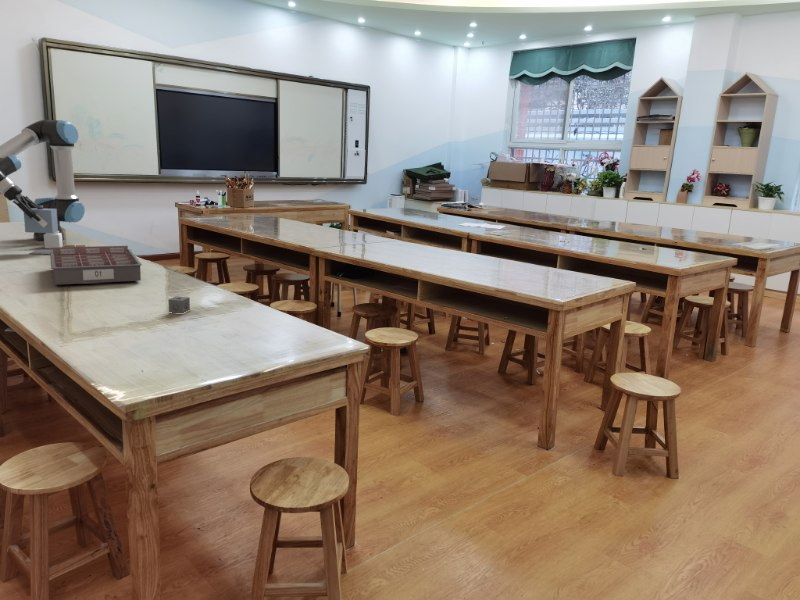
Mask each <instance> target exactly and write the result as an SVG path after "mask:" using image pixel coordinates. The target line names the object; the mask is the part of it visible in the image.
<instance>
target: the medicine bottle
mask: <svg viewBox="0 0 800 600" xmlns="http://www.w3.org/2000/svg"><path fill="white" fill-rule="evenodd" d="M63 243H64V242H63V239H62V233H59V226H58V231H57V232H54V233H46V234H44V241H43V247H44V249H53V247H64V245H63Z"/></svg>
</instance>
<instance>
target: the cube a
mask: <svg viewBox="0 0 800 600" xmlns="http://www.w3.org/2000/svg"><path fill="white" fill-rule="evenodd" d="M75 246H76V245H75V244H65V245H63V247H75Z"/></svg>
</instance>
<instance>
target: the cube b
mask: <svg viewBox="0 0 800 600" xmlns="http://www.w3.org/2000/svg"><path fill="white" fill-rule="evenodd" d="M75 247H86V245H85V244H82V245H81V244H76V245H75Z"/></svg>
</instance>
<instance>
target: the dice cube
mask: <svg viewBox="0 0 800 600" xmlns="http://www.w3.org/2000/svg"><path fill="white" fill-rule="evenodd" d="M190 300H191V299H190V297H189V296H179V295H178V296H177V295H175V296H173V297H171V298H169V299H168V301H167V302H168V313H169V312H172V313H184V312H186V311H188V310H190V311H191V306H190V305H191V302H190Z"/></svg>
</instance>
